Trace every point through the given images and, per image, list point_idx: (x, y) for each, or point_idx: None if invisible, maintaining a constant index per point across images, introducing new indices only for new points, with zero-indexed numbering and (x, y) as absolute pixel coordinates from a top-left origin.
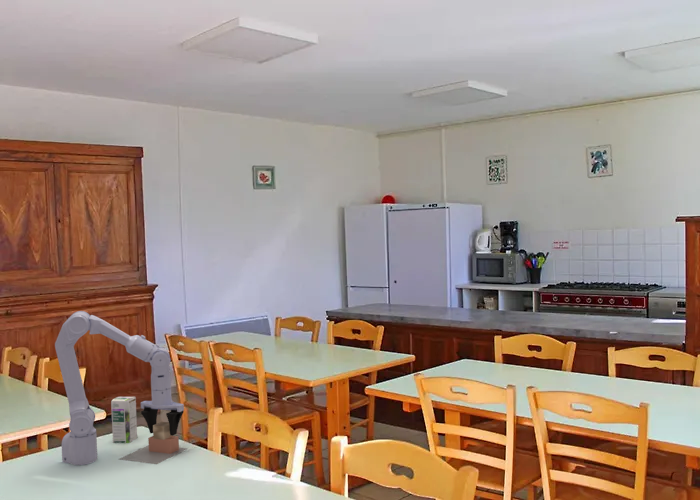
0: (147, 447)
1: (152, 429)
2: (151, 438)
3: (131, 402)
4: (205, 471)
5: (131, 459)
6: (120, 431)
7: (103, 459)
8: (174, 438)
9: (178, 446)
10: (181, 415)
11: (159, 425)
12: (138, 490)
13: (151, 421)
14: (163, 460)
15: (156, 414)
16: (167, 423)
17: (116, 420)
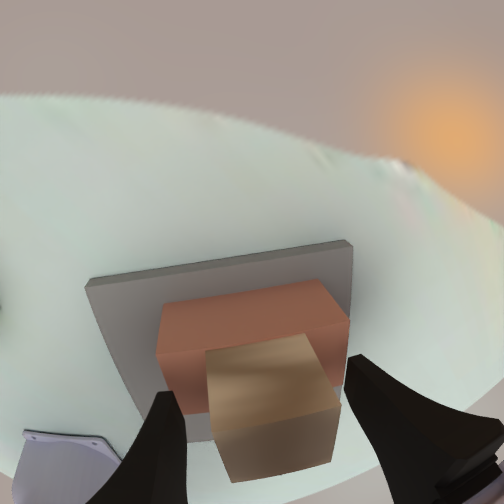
0: (121, 331)
1: (183, 434)
2: (204, 412)
3: None
4: (473, 337)
5: (207, 434)
6: None
7: (85, 429)
8: (345, 352)
9: (324, 290)
10: (470, 418)
11: (283, 469)
12: (371, 461)
13: (179, 486)
14: (339, 390)
15: (157, 498)
16: (310, 430)
17: None
